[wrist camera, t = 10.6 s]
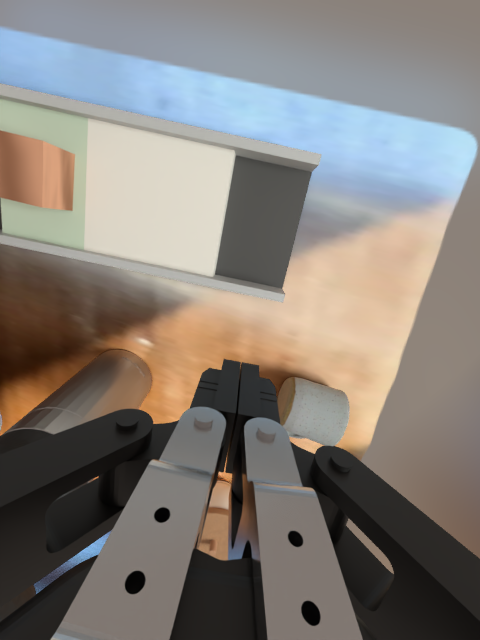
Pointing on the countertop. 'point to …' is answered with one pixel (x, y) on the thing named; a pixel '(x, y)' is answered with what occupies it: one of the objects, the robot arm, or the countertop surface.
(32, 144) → the block
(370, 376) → the countertop surface
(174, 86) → the countertop surface
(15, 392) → the countertop surface
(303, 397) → the ceramic mug
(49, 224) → the pad
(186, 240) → the trap channel
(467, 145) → the countertop surface
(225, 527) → the lidded jar
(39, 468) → the robot arm
